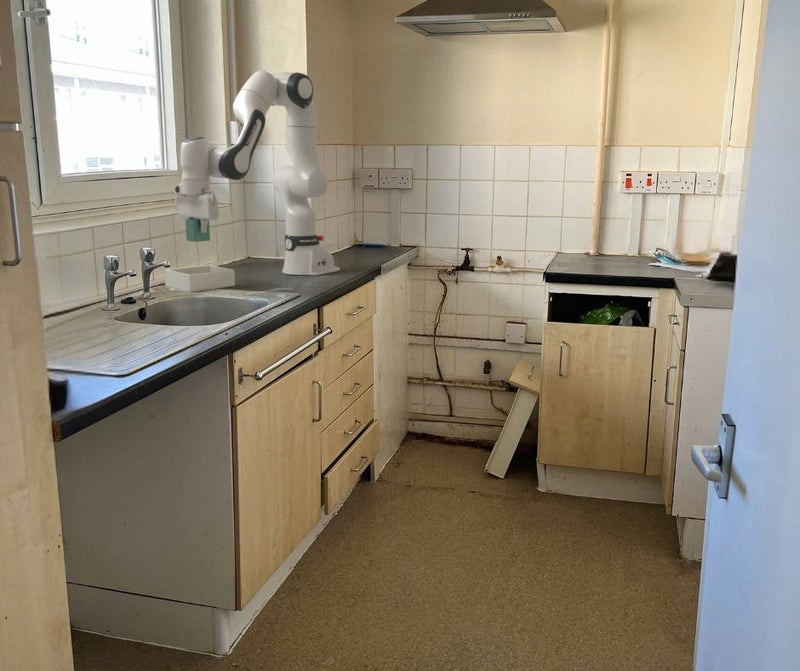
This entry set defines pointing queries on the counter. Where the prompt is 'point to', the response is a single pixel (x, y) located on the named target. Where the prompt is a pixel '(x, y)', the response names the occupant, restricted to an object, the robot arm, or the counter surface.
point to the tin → (196, 231)
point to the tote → (199, 278)
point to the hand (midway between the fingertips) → (198, 231)
